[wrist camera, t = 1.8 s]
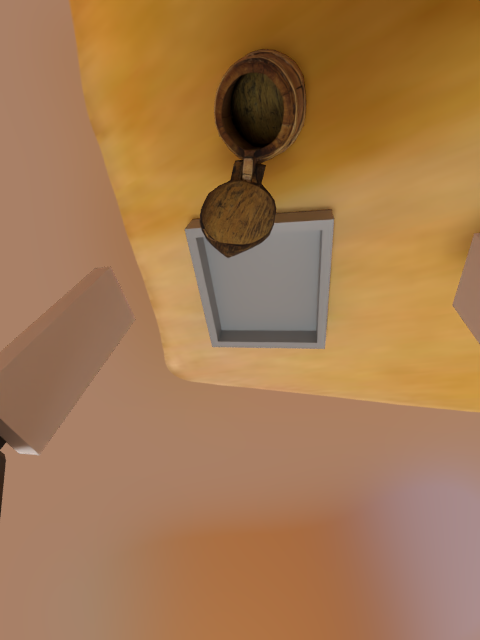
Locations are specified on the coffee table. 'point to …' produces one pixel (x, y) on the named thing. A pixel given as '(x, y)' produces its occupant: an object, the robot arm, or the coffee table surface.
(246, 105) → the wooden mug
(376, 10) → the coffee table surface
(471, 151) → the coffee table surface
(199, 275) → the slate tray
